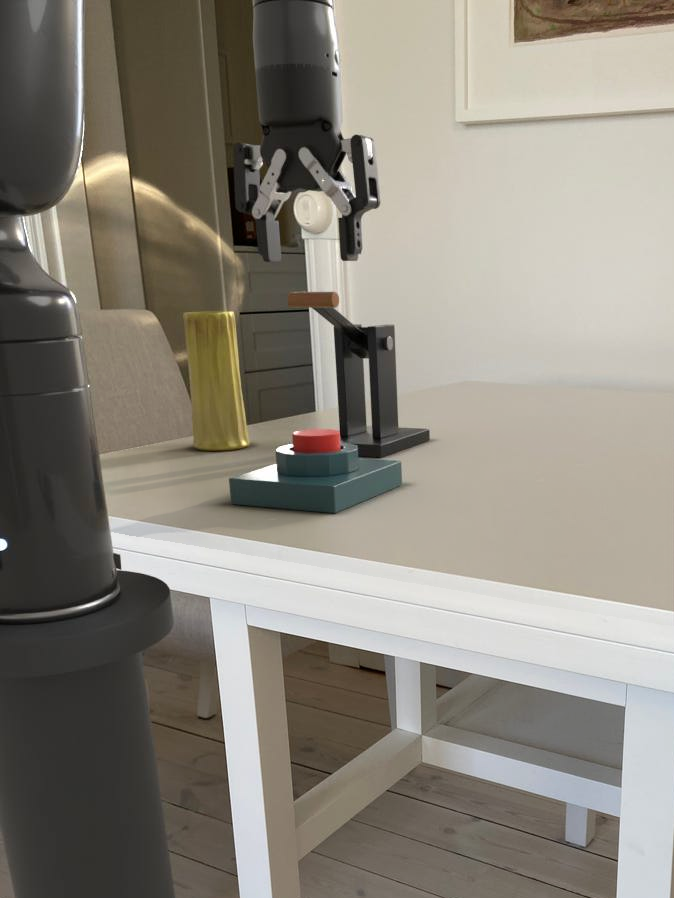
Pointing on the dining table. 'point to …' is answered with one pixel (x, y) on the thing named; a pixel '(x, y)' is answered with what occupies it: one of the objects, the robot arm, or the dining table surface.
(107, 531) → the robot arm
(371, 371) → the bracket
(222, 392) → the vase
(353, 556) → the dining table surface
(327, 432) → the button
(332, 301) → the lever
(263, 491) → the control block
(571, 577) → the dining table surface
